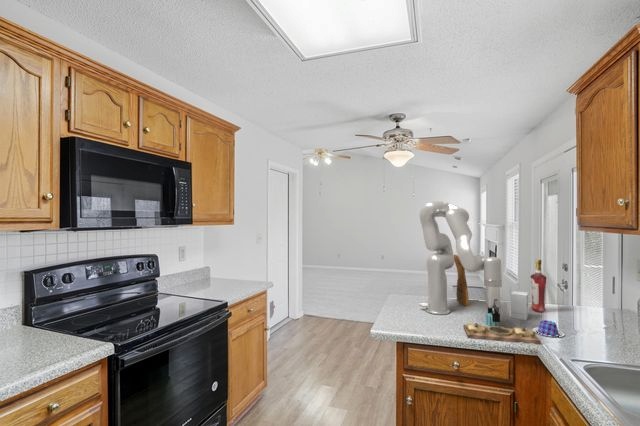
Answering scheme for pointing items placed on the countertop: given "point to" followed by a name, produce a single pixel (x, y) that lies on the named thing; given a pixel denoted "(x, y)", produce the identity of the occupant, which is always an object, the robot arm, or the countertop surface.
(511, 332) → the gear board
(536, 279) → the liquor
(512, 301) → the supplement box
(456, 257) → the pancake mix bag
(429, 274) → the robot arm
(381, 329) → the countertop surface
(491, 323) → the loose gear
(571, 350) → the countertop surface
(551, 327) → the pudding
